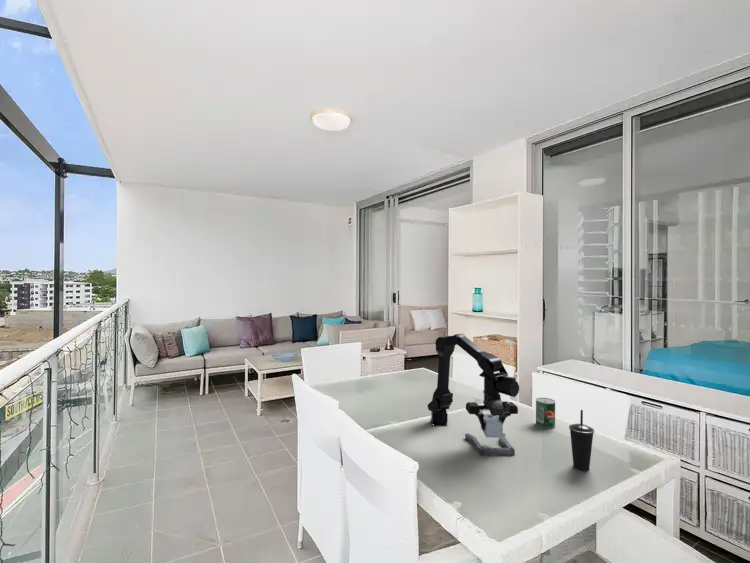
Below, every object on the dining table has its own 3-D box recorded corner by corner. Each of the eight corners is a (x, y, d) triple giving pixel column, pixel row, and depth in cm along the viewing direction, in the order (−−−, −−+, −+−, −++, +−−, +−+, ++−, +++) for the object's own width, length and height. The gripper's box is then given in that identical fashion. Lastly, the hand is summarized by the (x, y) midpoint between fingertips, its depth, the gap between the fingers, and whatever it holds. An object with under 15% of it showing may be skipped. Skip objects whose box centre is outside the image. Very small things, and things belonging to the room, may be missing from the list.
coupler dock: (474, 455, 140) (475, 450, 140) (464, 438, 155) (464, 433, 155) (519, 454, 140) (519, 449, 140) (504, 437, 155) (504, 432, 155)
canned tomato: (538, 420, 174) (538, 396, 174) (556, 424, 169) (556, 399, 169) (533, 425, 167) (534, 401, 167) (553, 430, 163) (553, 404, 163)
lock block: (486, 437, 142) (486, 422, 142) (480, 427, 151) (480, 413, 151) (502, 437, 142) (502, 422, 142) (496, 427, 151) (496, 413, 151)
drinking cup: (564, 462, 135) (564, 406, 134) (584, 461, 135) (585, 405, 135) (577, 473, 127) (577, 414, 127) (599, 472, 128) (599, 413, 127)
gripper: (473, 396, 138) (473, 439, 139) (524, 396, 139) (523, 438, 139) (465, 387, 149) (465, 426, 150) (512, 387, 150) (512, 426, 150)
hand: (491, 429), depth 147 cm, fingers closed on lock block, 6 cm apart
